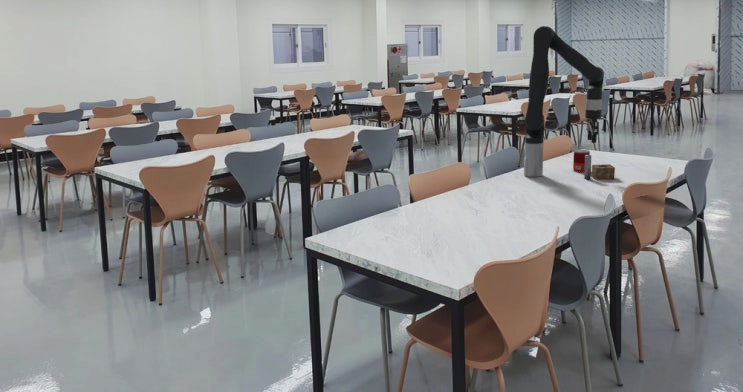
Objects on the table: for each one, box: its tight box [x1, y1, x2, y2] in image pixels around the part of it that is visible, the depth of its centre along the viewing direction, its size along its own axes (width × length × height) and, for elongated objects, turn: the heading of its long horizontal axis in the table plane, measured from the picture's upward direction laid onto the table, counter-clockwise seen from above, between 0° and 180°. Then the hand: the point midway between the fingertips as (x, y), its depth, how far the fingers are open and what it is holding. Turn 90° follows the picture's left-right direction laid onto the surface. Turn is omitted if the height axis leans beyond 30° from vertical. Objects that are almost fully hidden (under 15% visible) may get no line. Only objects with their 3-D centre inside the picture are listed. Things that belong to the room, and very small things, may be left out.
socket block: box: [591, 163, 616, 181], centre depth 325 cm, size 9×9×6 cm
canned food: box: [572, 149, 591, 173], centre depth 343 cm, size 8×8×11 cm
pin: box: [583, 154, 593, 181], centre depth 323 cm, size 3×3×12 cm
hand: (591, 141), depth 321 cm, fingers open, 8 cm apart
